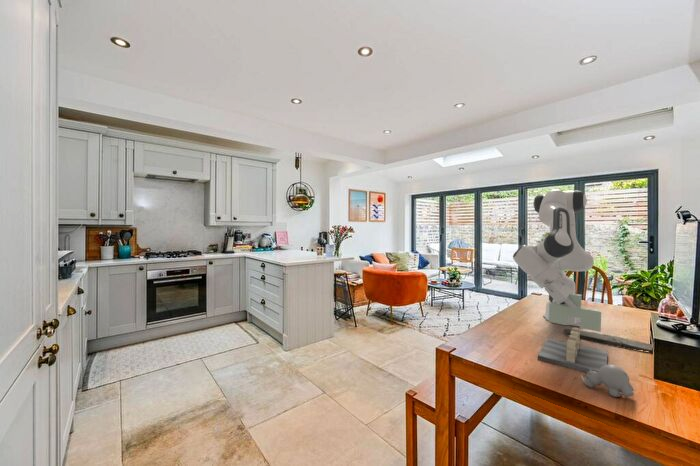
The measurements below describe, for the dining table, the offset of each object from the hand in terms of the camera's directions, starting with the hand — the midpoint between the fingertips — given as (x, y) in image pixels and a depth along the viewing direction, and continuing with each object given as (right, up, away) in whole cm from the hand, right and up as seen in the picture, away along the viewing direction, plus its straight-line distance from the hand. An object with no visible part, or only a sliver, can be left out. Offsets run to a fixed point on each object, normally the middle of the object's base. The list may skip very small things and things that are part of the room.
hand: (576, 307), depth 114 cm
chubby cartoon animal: (-8, -21, -23) cm, 32 cm away
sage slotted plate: (-1, -8, +1) cm, 8 cm away
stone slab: (+27, -20, +18) cm, 38 cm away
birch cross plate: (-1, -20, +1) cm, 20 cm away
